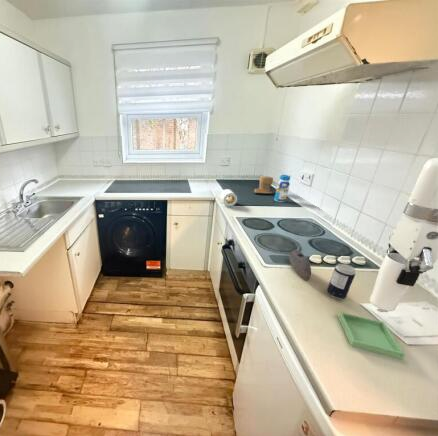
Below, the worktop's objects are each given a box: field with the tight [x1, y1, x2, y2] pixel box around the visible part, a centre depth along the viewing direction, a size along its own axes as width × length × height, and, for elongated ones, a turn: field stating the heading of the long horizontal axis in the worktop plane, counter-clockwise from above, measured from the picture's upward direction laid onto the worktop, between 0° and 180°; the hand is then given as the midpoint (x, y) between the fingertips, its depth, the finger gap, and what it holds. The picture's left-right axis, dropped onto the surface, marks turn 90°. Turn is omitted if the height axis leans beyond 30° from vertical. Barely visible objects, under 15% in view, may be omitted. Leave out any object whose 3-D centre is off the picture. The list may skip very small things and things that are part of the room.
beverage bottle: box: [273, 174, 291, 203], centre depth 183 cm, size 8×8×20 cm
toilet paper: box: [219, 188, 238, 207], centre depth 178 cm, size 10×10×10 cm
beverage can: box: [326, 263, 356, 300], centre depth 85 cm, size 6×6×12 cm
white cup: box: [369, 253, 418, 312], centre depth 63 cm, size 7×7×15 cm
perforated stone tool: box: [288, 249, 312, 281], centre depth 98 cm, size 15×5×7 cm, turn 168°
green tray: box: [337, 311, 406, 360], centre depth 70 cm, size 11×12×2 cm
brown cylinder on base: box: [254, 175, 274, 195], centre depth 204 cm, size 15×12×15 cm
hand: (396, 275), depth 62 cm, fingers closed on white cup, 6 cm apart
